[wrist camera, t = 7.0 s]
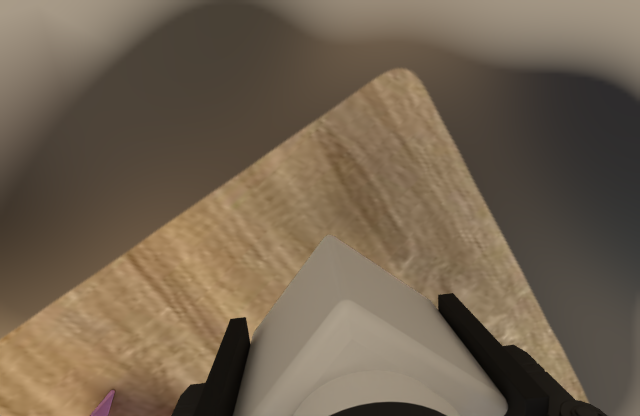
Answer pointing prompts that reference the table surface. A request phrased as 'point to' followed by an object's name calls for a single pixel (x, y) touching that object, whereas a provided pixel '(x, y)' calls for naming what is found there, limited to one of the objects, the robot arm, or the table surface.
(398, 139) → the table surface
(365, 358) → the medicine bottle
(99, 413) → the toy chair
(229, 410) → the robot arm
